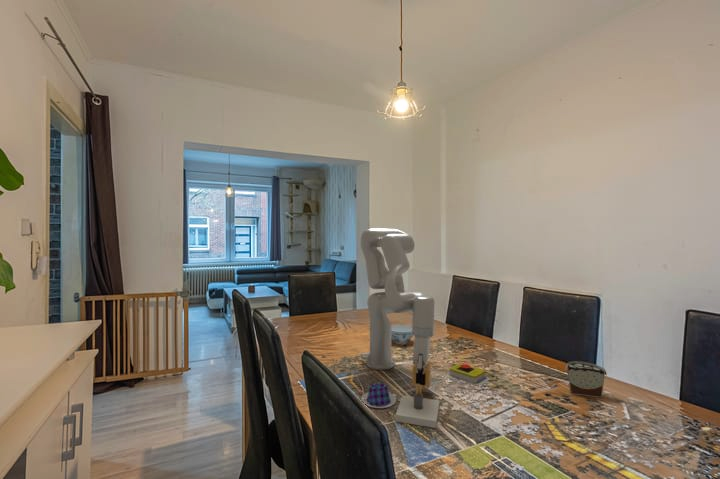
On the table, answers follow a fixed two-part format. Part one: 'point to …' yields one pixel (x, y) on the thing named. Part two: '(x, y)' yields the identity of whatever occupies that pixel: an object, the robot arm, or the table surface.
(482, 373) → the emergency button
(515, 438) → the table surface
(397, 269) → the robot arm
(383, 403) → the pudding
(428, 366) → the tan wooden cube
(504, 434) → the table surface
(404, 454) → the table surface
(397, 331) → the chinaware
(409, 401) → the board
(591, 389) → the food container
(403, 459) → the table surface
